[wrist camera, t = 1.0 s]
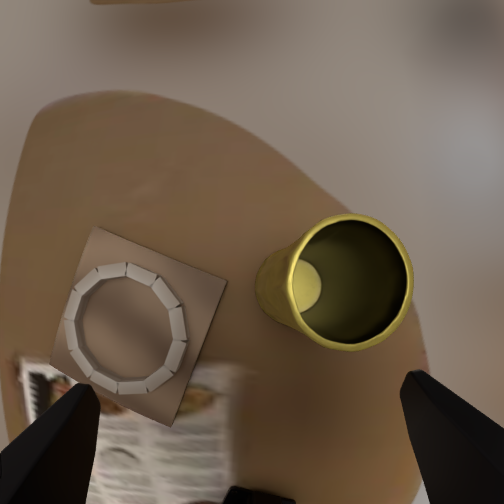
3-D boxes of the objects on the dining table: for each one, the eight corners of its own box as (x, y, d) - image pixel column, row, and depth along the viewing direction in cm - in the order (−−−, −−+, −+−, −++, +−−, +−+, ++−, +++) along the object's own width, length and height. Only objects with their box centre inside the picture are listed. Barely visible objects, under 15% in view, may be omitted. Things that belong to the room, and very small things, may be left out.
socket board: (172, 422, 24) (166, 434, 21) (54, 362, 24) (40, 367, 22) (227, 281, 25) (226, 280, 23) (98, 227, 26) (86, 221, 23)
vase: (245, 313, 25) (252, 343, 11) (266, 238, 26) (296, 180, 12) (319, 332, 25) (402, 375, 11) (338, 259, 26) (435, 227, 12)
